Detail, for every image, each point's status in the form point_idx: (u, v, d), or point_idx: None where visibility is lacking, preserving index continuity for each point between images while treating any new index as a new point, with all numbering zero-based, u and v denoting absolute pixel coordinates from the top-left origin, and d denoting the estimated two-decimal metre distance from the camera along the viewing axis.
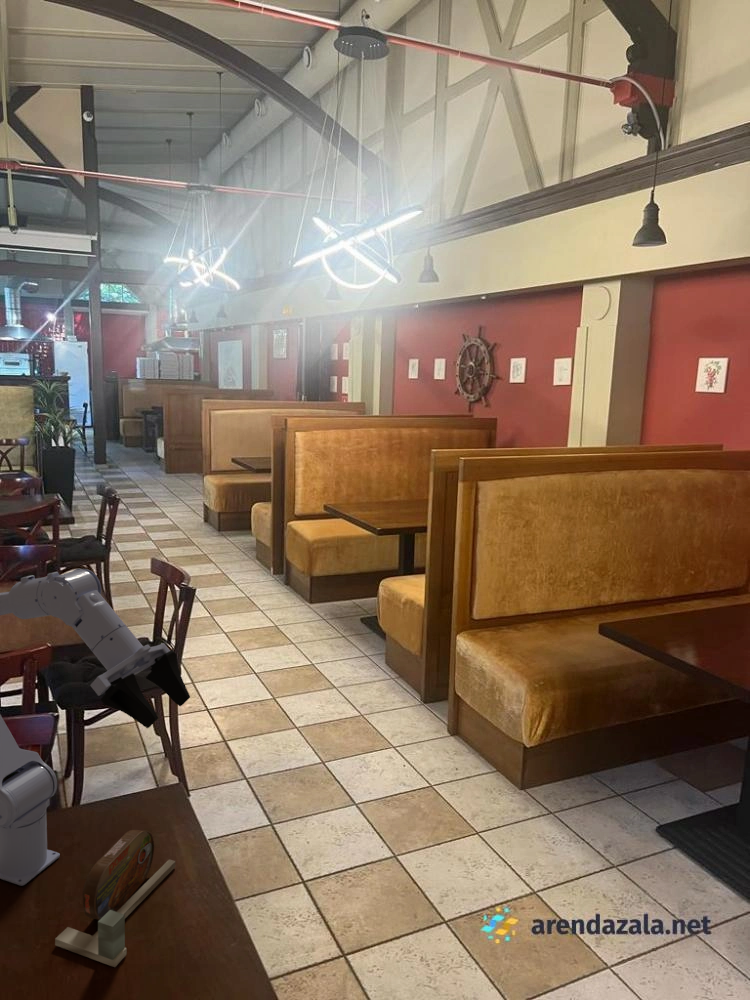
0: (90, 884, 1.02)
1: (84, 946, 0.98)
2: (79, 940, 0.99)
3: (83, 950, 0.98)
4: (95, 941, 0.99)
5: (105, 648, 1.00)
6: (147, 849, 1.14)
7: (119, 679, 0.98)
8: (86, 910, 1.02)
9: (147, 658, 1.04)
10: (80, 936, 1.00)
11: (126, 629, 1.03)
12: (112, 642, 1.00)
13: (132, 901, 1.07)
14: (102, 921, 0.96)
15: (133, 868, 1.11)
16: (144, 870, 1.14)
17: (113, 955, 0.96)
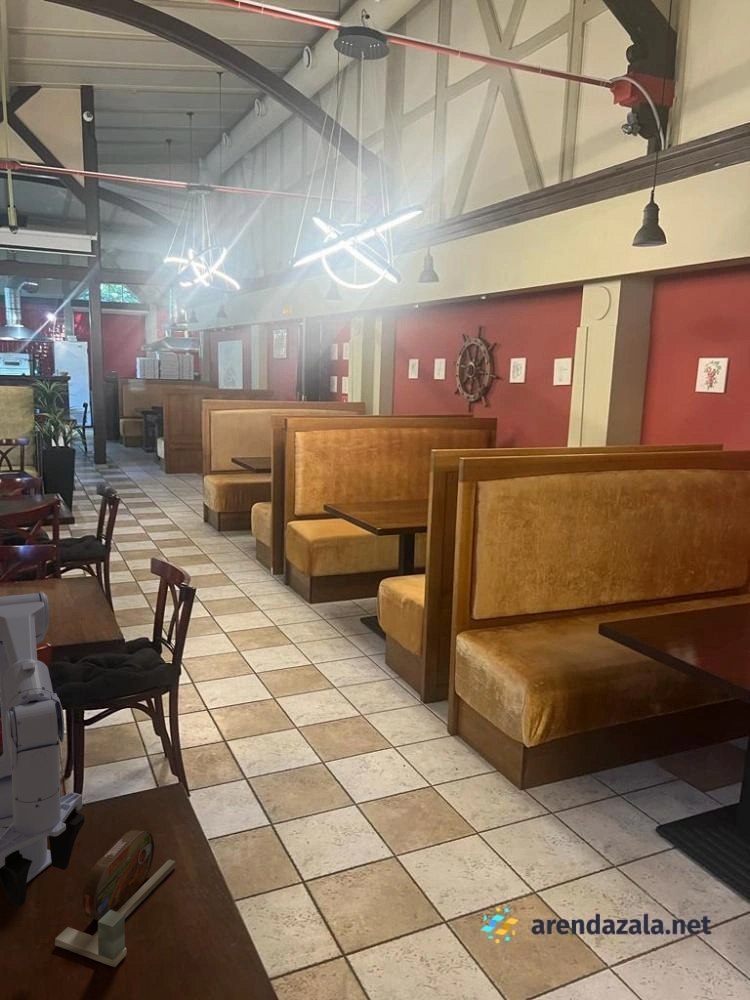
0: (90, 884, 1.02)
1: (84, 946, 0.98)
2: (79, 940, 0.99)
3: (83, 950, 0.98)
4: (95, 941, 0.99)
5: (25, 811, 0.92)
6: (147, 849, 1.14)
7: (16, 854, 0.91)
8: (86, 910, 1.02)
9: None
10: (80, 936, 1.00)
11: (57, 796, 0.94)
12: (35, 810, 0.92)
13: (132, 901, 1.07)
14: (102, 921, 0.96)
15: (133, 868, 1.11)
16: (144, 870, 1.14)
17: (113, 955, 0.96)
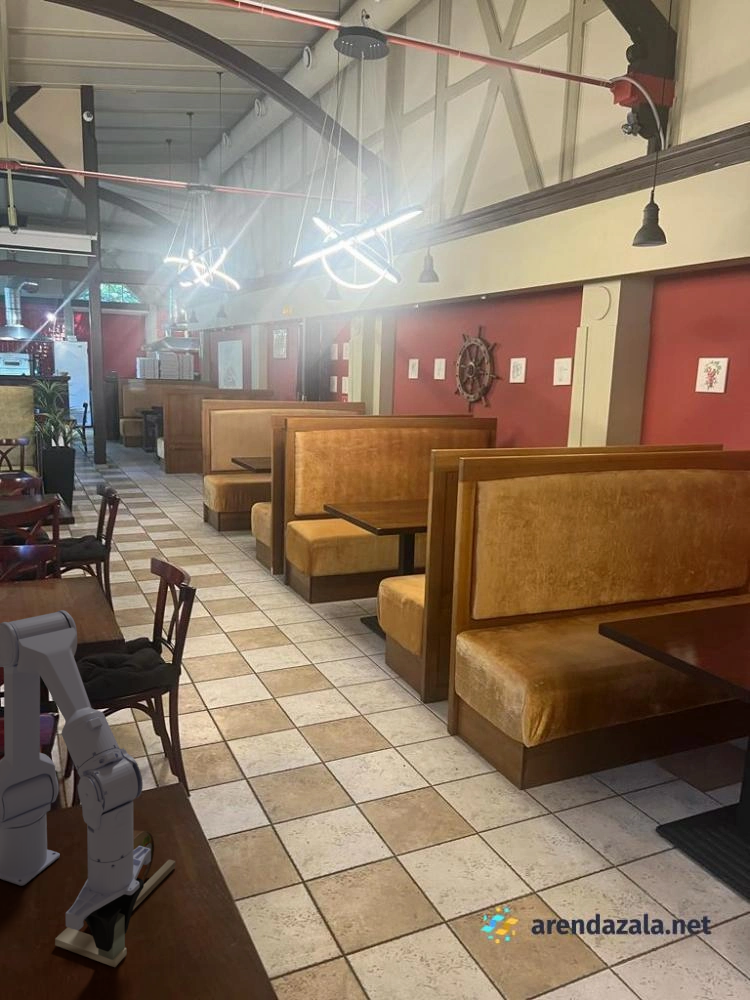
0: None
1: (84, 946, 0.98)
2: (79, 940, 0.99)
3: (83, 950, 0.98)
4: None
5: (101, 871, 0.93)
6: None
7: None
8: None
9: None
10: (80, 936, 1.00)
11: (131, 855, 0.95)
12: (111, 870, 0.93)
13: None
14: None
15: None
16: (144, 870, 1.14)
17: (113, 955, 0.96)
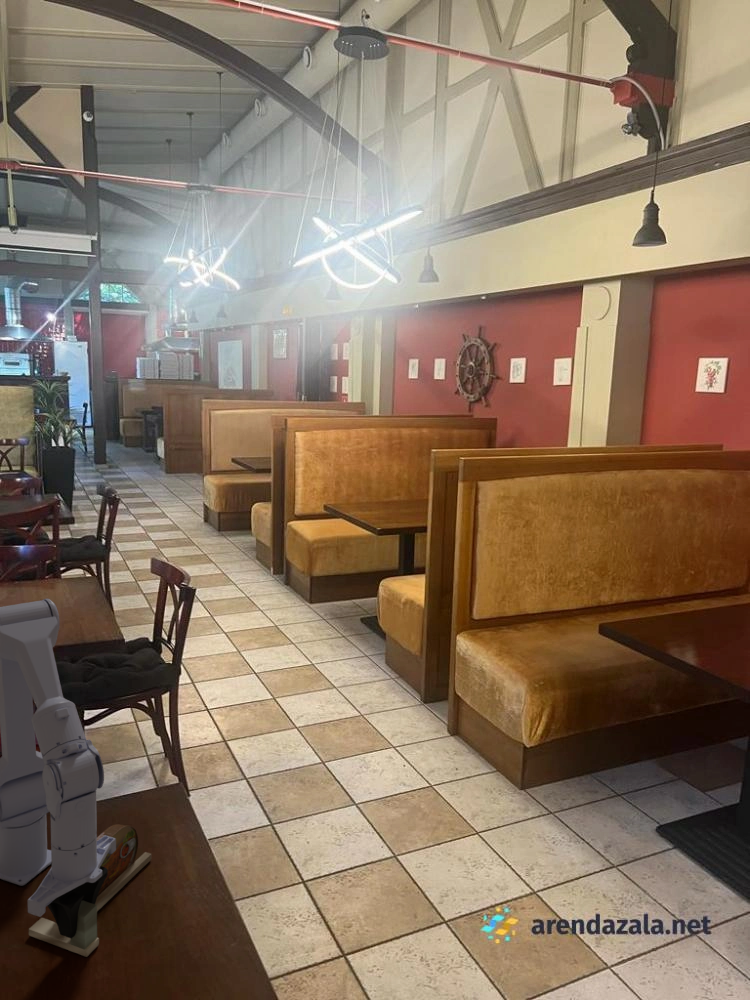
0: None
1: (57, 936, 1.00)
2: (53, 930, 1.01)
3: (56, 940, 0.99)
4: None
5: (64, 859, 0.95)
6: (130, 844, 1.15)
7: None
8: None
9: None
10: (53, 926, 1.01)
11: (94, 843, 0.97)
12: (74, 858, 0.95)
13: (106, 892, 1.09)
14: None
15: (114, 862, 1.12)
16: (127, 865, 1.15)
17: (85, 945, 0.98)
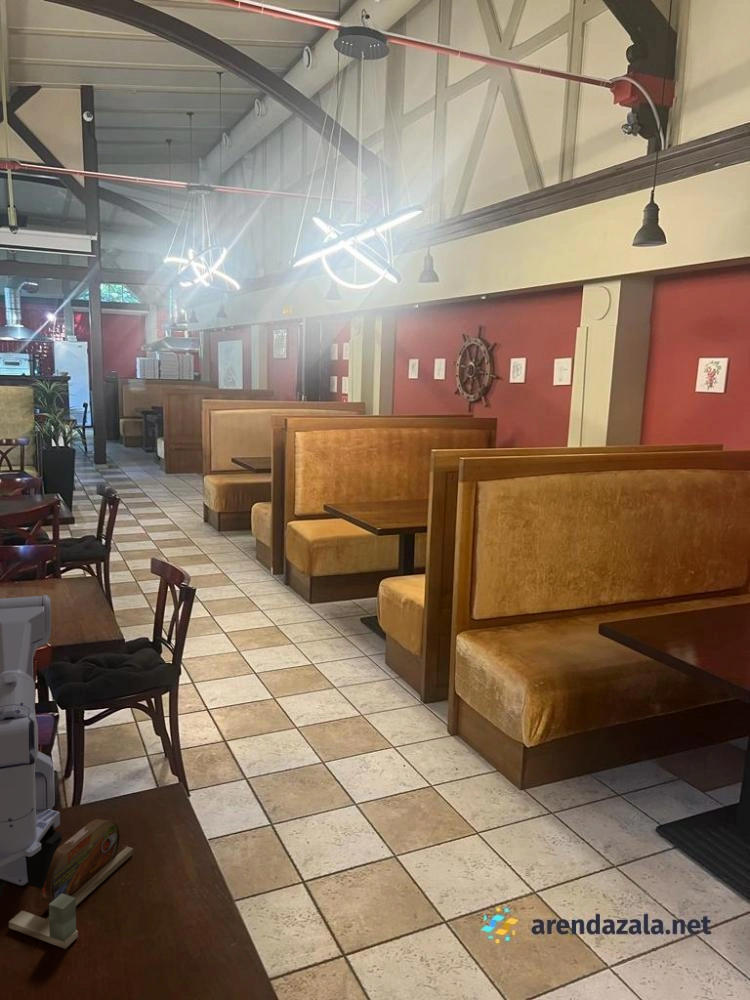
0: None
1: (36, 929, 1.01)
2: (32, 923, 1.02)
3: (35, 932, 1.00)
4: (47, 924, 1.02)
5: None
6: (112, 839, 1.16)
7: None
8: (43, 895, 1.05)
9: None
10: (33, 919, 1.03)
11: (32, 815, 0.92)
12: (9, 830, 0.90)
13: (87, 886, 1.10)
14: (53, 903, 0.99)
15: (95, 856, 1.13)
16: (108, 859, 1.16)
17: (64, 937, 0.99)
